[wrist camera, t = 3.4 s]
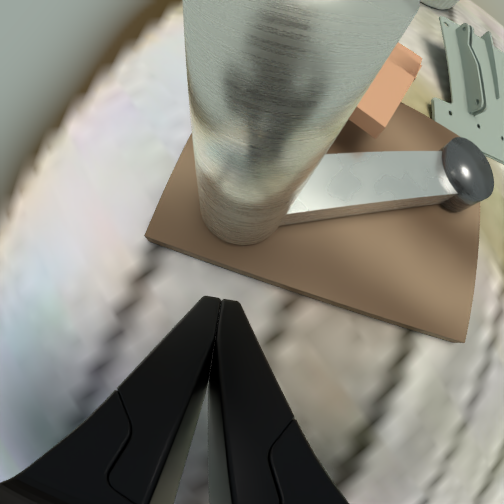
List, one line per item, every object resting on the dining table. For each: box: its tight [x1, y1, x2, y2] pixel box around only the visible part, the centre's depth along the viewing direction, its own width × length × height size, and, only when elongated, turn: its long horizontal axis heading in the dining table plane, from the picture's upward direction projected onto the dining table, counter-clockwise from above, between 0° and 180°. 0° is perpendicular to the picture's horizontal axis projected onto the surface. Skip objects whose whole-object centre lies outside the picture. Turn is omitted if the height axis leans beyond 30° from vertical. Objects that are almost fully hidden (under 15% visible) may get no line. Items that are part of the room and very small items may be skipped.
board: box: [145, 102, 480, 343], centre depth 16 cm, size 13×17×1 cm
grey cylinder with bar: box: [183, 0, 494, 245], centre depth 9 cm, size 16×4×11 cm, turn 101°
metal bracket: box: [431, 16, 504, 164], centre depth 19 cm, size 14×6×15 cm
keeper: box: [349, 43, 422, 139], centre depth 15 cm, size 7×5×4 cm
